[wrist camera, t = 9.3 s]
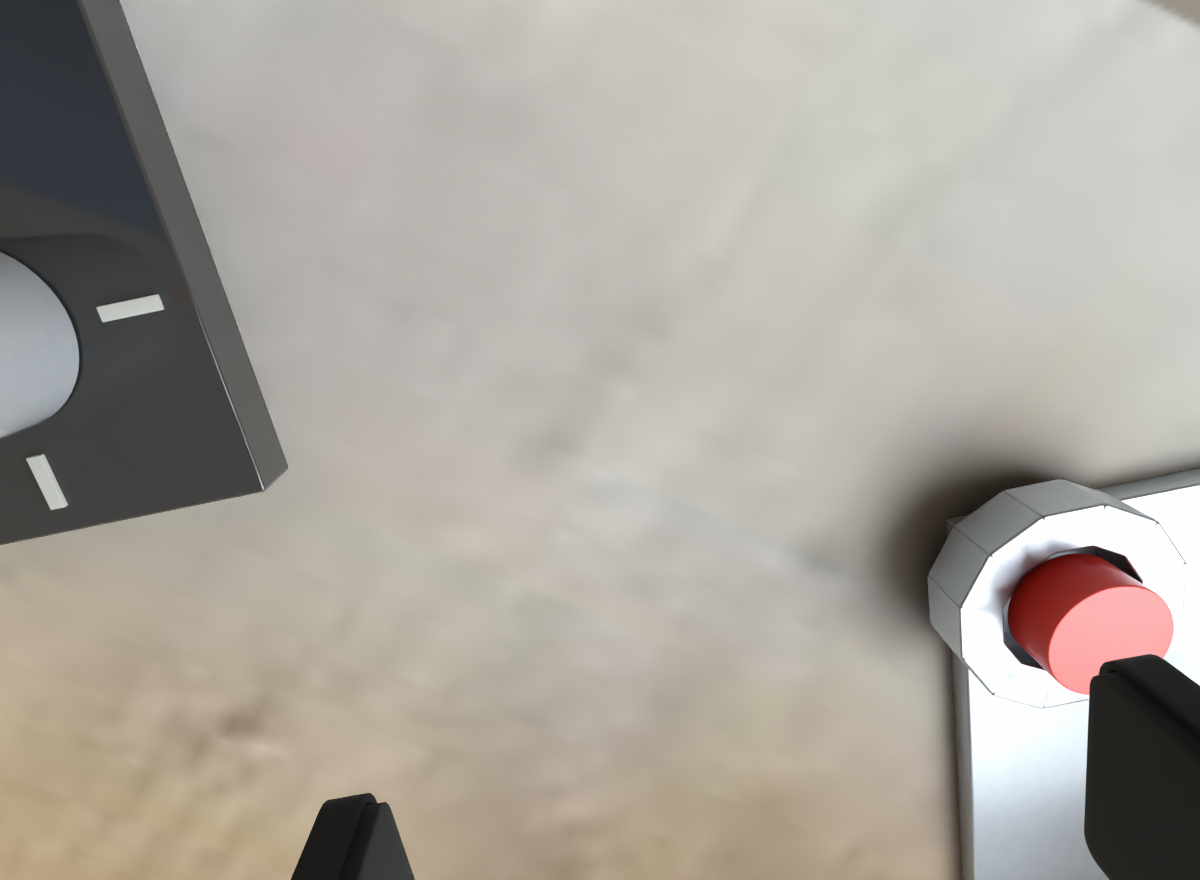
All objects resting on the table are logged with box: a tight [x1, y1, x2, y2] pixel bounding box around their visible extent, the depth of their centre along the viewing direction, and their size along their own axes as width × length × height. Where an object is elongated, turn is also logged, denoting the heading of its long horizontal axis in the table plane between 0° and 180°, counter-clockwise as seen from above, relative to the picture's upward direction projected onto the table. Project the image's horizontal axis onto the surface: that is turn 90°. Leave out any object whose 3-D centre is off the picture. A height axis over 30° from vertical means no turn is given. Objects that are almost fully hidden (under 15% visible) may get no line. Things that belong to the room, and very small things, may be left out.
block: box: [927, 468, 1200, 880], centre depth 23 cm, size 16×13×4 cm
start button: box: [1007, 553, 1174, 695], centre depth 19 cm, size 3×3×2 cm
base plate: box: [0, 0, 288, 545], centre depth 18 cm, size 12×10×3 cm
